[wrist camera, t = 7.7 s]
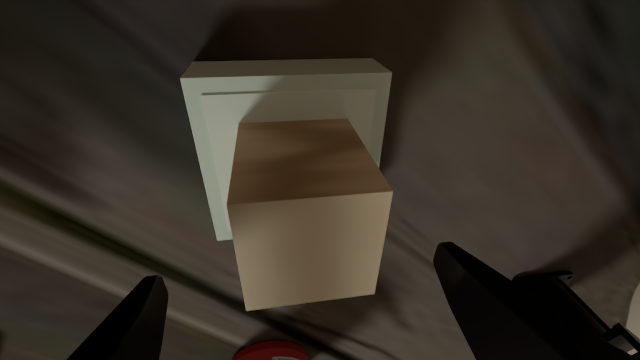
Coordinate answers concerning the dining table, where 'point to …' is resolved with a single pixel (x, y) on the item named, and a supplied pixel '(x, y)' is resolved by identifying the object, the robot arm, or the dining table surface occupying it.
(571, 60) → the dining table surface
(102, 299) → the dining table surface
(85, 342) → the robot arm
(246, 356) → the canned food
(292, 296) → the block
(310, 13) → the dining table surface
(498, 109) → the dining table surface
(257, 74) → the base
